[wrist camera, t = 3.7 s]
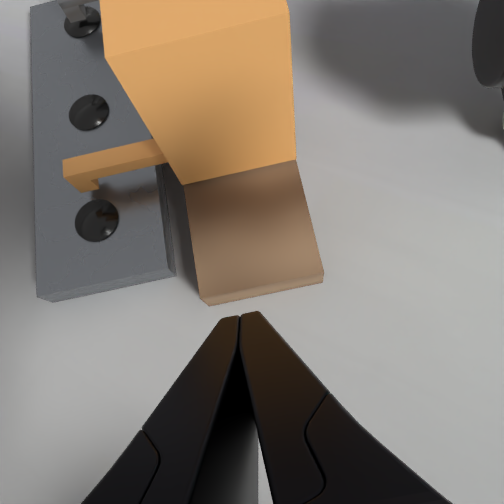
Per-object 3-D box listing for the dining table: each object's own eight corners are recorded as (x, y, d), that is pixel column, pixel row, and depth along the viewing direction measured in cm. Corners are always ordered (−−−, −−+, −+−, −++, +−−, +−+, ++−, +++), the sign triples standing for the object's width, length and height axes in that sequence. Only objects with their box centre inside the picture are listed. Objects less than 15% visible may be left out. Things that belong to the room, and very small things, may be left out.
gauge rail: (332, 280, 22) (357, 164, 11) (108, 327, 23) (-89, 264, 12) (256, -18, 29) (223, -282, 18) (85, 25, 30) (-53, -202, 18)
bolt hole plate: (176, 275, 23) (167, 267, 22) (52, 302, 24) (35, 296, 22) (139, 0, 30) (130, -21, 28) (43, 25, 30) (29, 5, 29)
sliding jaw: (296, 161, 22) (289, 12, 13) (82, 209, 23) (-57, 97, 14) (284, 112, 23) (270, -56, 14) (79, 160, 24) (-53, 27, 15)
